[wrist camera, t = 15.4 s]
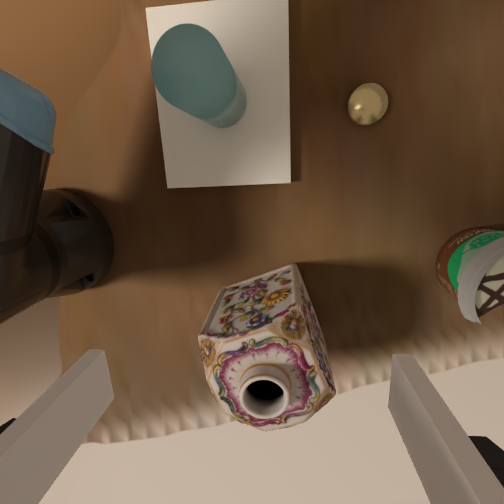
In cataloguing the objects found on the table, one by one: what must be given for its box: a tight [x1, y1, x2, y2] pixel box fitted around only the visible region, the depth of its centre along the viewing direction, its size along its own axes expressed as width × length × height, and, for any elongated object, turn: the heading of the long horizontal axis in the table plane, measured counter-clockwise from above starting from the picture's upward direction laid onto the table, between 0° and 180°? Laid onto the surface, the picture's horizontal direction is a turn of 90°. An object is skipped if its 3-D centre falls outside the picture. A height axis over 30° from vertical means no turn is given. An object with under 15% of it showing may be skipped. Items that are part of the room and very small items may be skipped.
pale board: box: [146, 0, 291, 188], centre depth 37 cm, size 16×20×1 cm
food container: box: [436, 228, 504, 324], centre depth 34 cm, size 12×6×10 cm, turn 128°
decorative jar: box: [198, 264, 336, 431], centre depth 36 cm, size 12×12×18 cm
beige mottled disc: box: [347, 83, 388, 126], centre depth 35 cm, size 4×4×1 cm
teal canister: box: [151, 23, 247, 128], centre depth 30 cm, size 6×6×13 cm
